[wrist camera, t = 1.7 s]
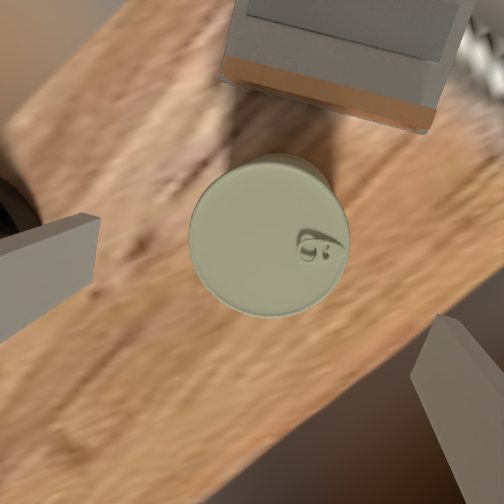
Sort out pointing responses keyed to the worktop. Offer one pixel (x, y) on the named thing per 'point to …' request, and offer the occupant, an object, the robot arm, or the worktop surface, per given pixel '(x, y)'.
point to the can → (270, 237)
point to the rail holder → (349, 54)
